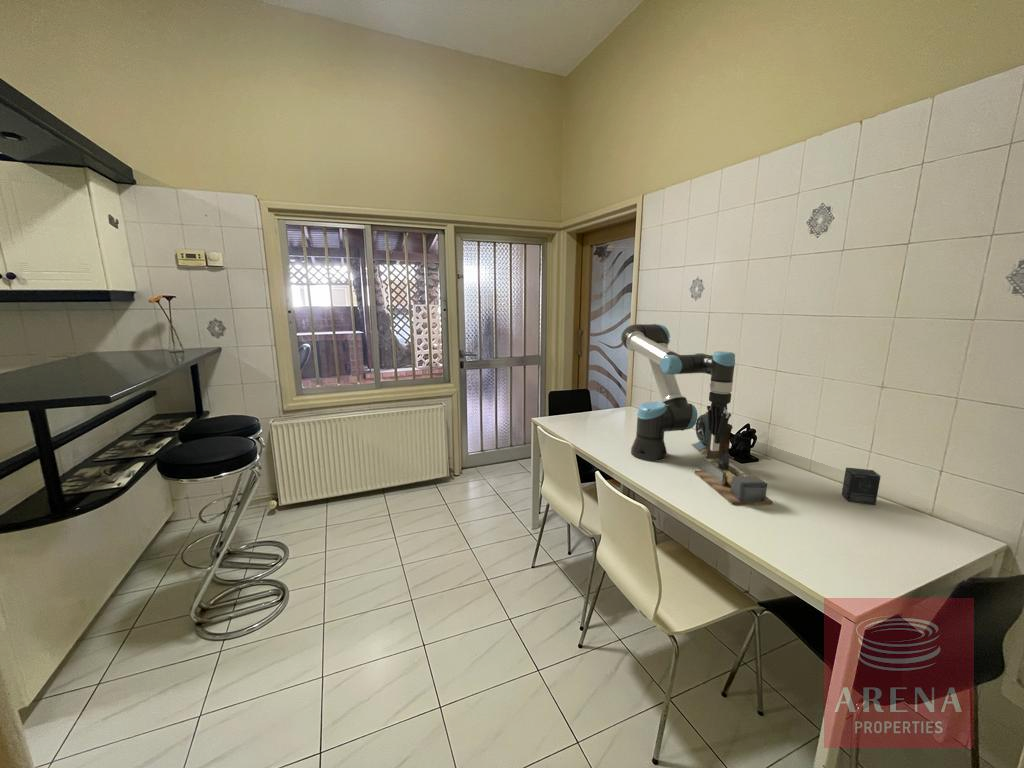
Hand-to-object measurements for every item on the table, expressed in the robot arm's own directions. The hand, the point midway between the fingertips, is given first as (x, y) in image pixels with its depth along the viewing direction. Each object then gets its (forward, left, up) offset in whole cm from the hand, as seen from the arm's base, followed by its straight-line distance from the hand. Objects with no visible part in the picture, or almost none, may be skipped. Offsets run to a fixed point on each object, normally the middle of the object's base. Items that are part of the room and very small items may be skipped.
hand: (714, 450), depth 159 cm
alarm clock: (-26, +12, -10) cm, 31 cm away
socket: (+23, 0, -9) cm, 24 cm away
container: (-7, +6, -10) cm, 14 cm away
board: (+13, 0, -10) cm, 16 cm away
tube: (+8, 0, -9) cm, 12 cm away
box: (+24, +39, -10) cm, 47 cm away
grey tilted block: (+7, 0, -9) cm, 11 cm away
